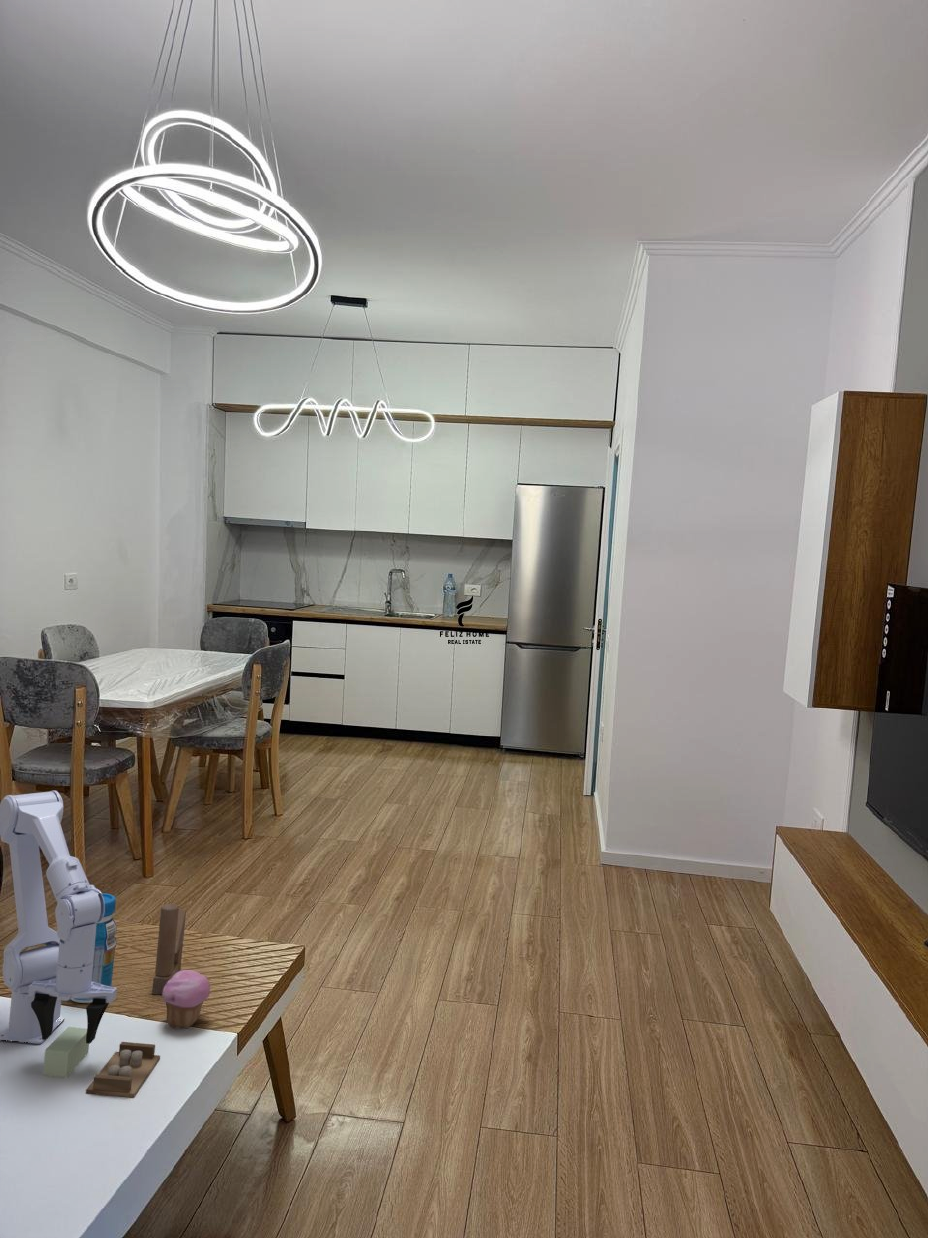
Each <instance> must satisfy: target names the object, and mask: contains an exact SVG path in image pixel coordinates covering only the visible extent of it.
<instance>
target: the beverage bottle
mask: <svg viewBox="0 0 928 1238" xmlns="http://www.w3.org/2000/svg"><path fill="white" fill-rule="evenodd" d="M101 893H102V896H103V898H104V903H105V913H104V916H103V919H102V920H101V921H100V922H97V923H96V924H97V925H96V936H95V947H94V959H93V970H92V982H95V983H98V984H102V985H105V986H109V987H113V986H112V985H113V984H112V983H113V972H114V963H115V954H116V947H117V938H116V936H115V935H116V934H117V931H118V926H117V923H116V921H115V919H114V918H113V916H114V914H115V911H116V903H117V902H116V901H117V899H116V896H115V895H114V894H111V893H104V892H101ZM70 1000H71V1001H72V1002H75V1003H79V1004H90V1003H92V1002H93V1000H89V999H77V998H74V999H70Z"/></svg>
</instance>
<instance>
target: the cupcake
mask: <svg viewBox="0 0 928 1238" xmlns="http://www.w3.org/2000/svg"><path fill="white" fill-rule="evenodd" d="M210 990H211V986H210V982H209V979H208V978H207V977H206V976H205V975H203V974H201V973H199V972H197V971H196V970H192V969H184V970H183V969H182V970H180V971H179V972H177V973H176V974H175V975H174V976H173V977H172V978H171V979H170V980H169V981H168V982H167V984H166V985H165V987H164V989H163V993H162V994H161V996H162V1001H164V1002H165V1005H166V1022H167V1025H168V1026H169V1027H171V1028H176V1027H179V1028H178V1029H181V1028H182V1029H187V1028H189V1027H191V1026H193V1025H194V1024H195V1023H196V1022H197V1021H198V1019H199V1017H200V1013H201V1010H202V1006H203V1003H204V1001H205V1000H207V999H208V998H209V997H210V993H211V991H210Z"/></svg>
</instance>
